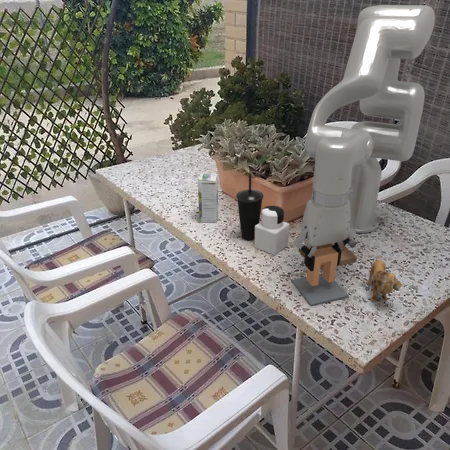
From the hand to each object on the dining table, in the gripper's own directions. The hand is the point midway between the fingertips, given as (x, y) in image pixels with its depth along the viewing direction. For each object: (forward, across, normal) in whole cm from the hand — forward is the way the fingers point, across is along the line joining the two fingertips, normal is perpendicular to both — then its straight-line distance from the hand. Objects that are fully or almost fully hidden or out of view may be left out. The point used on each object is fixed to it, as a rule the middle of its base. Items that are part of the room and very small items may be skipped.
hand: (322, 264), depth 99 cm
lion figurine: (+8, -13, +6) cm, 16 cm away
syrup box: (+7, +15, -44) cm, 47 cm away
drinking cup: (+7, +7, -29) cm, 31 cm away
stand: (+7, -9, -9) cm, 15 cm away
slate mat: (+7, 0, 0) cm, 7 cm away
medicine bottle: (+8, +3, -22) cm, 24 cm away
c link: (+4, 0, 0) cm, 4 cm away
